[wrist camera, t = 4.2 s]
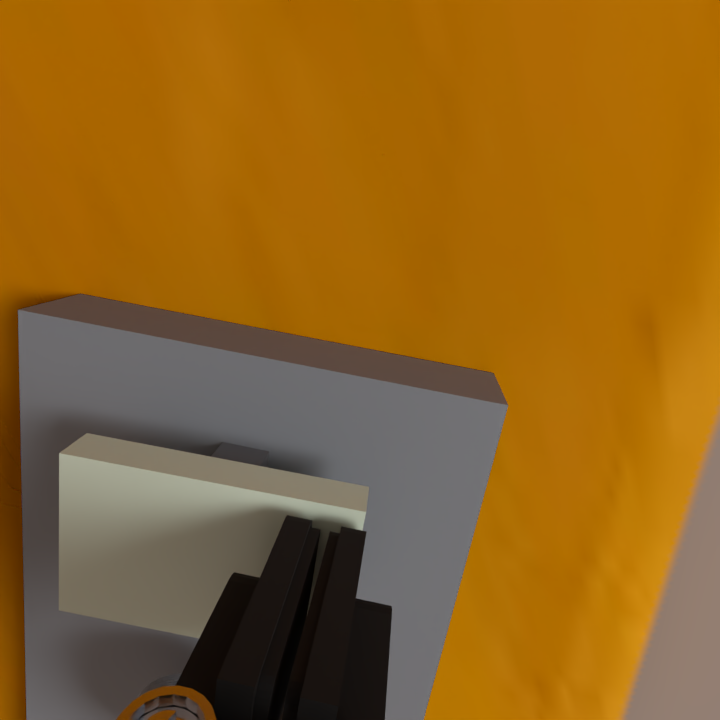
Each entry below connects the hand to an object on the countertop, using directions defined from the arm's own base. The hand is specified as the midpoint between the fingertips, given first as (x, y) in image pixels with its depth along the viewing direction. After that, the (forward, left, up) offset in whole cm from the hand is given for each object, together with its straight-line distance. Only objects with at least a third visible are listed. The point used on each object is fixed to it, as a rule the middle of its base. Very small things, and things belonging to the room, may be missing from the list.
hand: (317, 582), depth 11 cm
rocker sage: (0, -2, -1) cm, 3 cm away
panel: (+6, -2, -5) cm, 8 cm away
